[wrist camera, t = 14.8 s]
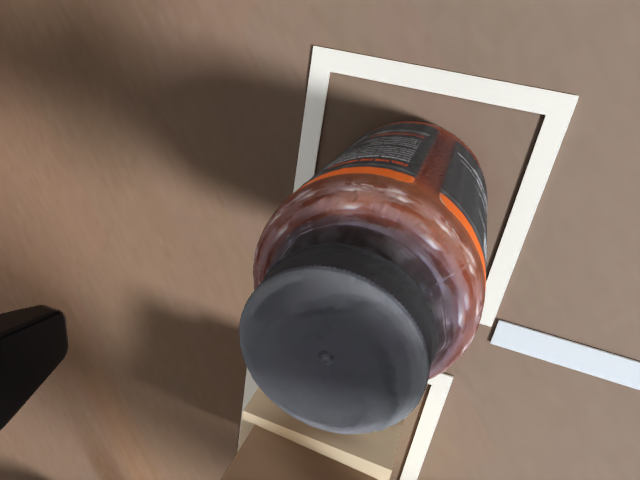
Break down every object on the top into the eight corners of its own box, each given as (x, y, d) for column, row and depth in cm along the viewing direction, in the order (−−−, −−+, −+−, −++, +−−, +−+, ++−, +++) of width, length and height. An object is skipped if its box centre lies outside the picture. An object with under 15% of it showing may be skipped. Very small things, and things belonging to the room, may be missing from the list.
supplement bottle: (312, 171, 20) (140, 297, 10) (433, 85, 17) (357, 145, 8) (390, 282, 21) (301, 499, 11) (518, 217, 18) (550, 429, 8)
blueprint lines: (790, 135, 15) (792, 136, 15) (534, 570, 25) (534, 572, 24) (284, 40, 18) (283, 40, 18) (238, 449, 28) (237, 450, 28)
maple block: (410, 388, 23) (392, 470, 19) (380, 478, 26) (358, 567, 21) (287, 344, 24) (242, 410, 20) (271, 433, 27) (229, 509, 23)
